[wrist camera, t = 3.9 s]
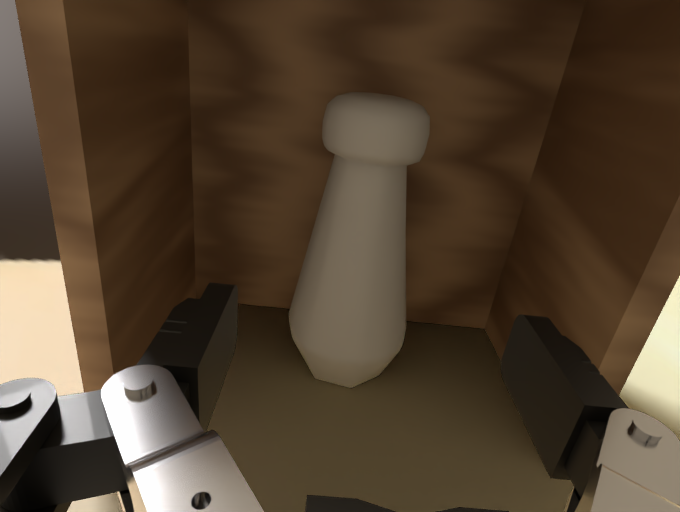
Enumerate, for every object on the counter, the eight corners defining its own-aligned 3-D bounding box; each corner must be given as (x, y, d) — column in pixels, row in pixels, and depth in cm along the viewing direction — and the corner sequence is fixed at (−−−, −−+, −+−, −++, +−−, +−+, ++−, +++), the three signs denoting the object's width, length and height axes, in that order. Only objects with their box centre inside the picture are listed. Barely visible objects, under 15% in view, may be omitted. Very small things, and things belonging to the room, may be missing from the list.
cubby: (497, 319, 28) (619, -61, 19) (581, 469, 18) (907, -173, 10) (182, 287, 27) (164, -126, 19) (89, 424, 17) (-42, -323, 9)
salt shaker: (387, 415, 20) (453, 114, 14) (268, 382, 21) (285, 89, 15) (403, 341, 25) (455, 100, 19) (307, 318, 26) (330, 82, 20)
